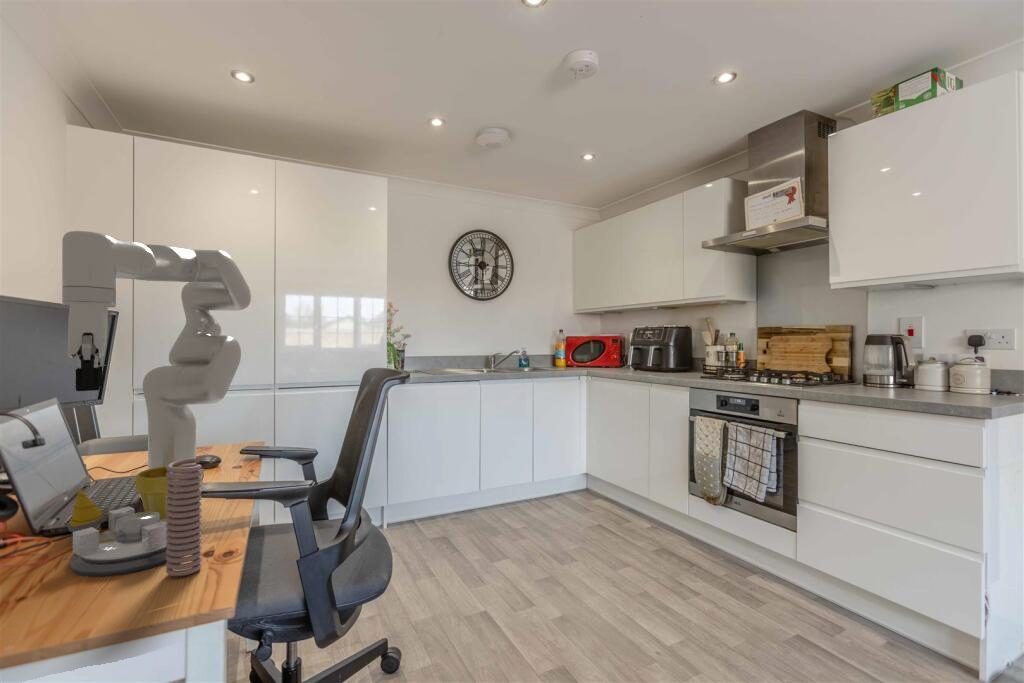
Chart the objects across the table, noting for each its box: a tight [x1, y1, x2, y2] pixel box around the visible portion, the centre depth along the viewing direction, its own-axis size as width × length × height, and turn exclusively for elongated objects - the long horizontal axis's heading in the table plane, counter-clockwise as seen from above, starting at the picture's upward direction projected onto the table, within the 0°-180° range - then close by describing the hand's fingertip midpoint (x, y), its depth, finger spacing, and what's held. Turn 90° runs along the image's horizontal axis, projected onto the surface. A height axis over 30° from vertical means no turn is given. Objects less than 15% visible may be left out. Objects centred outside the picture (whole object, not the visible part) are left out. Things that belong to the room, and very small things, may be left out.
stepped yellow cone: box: [67, 488, 107, 533], centre depth 87 cm, size 5×5×10 cm
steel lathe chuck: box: [72, 506, 191, 563], centre depth 81 cm, size 15×15×4 cm
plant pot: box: [135, 465, 184, 520], centre depth 98 cm, size 10×10×10 cm
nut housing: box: [69, 543, 191, 578], centre depth 81 cm, size 17×17×2 cm
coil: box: [165, 457, 203, 577], centre depth 74 cm, size 5×5×18 cm
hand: (89, 388), depth 87 cm, fingers open, 9 cm apart
